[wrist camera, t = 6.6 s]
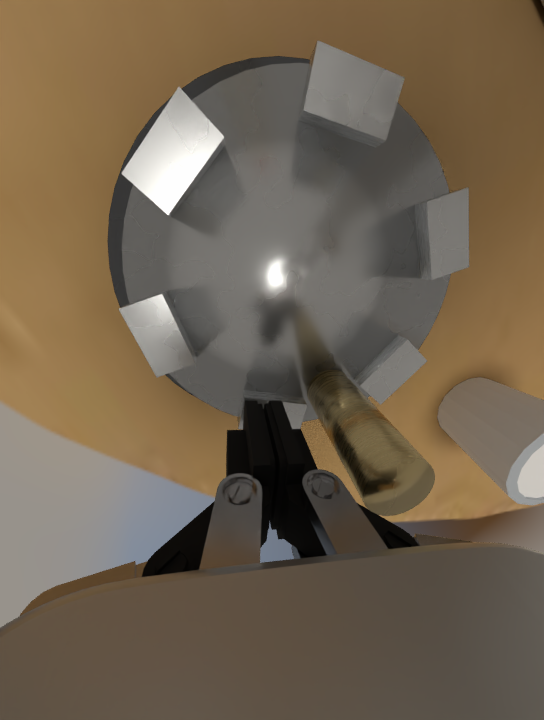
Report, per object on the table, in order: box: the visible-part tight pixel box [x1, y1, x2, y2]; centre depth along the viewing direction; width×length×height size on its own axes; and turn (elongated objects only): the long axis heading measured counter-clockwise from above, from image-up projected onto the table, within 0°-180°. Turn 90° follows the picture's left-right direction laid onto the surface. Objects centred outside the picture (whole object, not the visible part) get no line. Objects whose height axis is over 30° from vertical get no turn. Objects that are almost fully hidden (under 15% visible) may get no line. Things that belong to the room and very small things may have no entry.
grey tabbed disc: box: [119, 41, 469, 516], centre depth 10 cm, size 15×15×9 cm
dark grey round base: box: [108, 56, 310, 397], centre depth 16 cm, size 18×18×2 cm
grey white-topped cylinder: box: [437, 377, 544, 505], centre depth 20 cm, size 7×7×7 cm
